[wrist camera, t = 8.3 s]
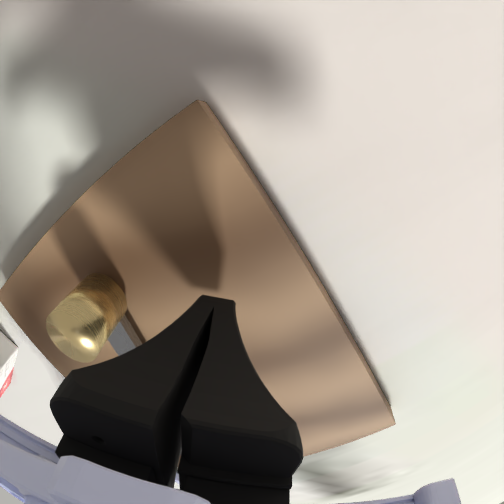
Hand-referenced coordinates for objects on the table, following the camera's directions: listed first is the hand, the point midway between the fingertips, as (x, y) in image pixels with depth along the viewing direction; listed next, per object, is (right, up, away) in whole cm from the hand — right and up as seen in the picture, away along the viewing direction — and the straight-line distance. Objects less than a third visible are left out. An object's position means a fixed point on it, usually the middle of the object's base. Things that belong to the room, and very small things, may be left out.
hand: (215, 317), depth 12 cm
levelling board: (-2, -4, +5) cm, 7 cm away
